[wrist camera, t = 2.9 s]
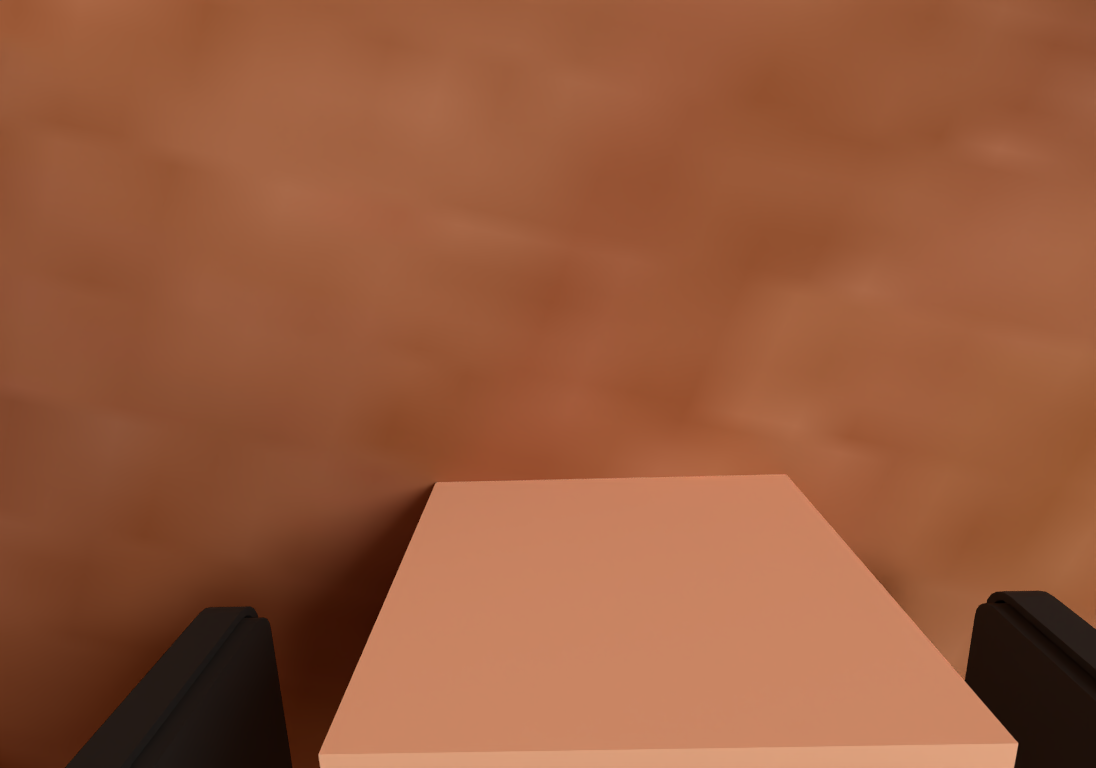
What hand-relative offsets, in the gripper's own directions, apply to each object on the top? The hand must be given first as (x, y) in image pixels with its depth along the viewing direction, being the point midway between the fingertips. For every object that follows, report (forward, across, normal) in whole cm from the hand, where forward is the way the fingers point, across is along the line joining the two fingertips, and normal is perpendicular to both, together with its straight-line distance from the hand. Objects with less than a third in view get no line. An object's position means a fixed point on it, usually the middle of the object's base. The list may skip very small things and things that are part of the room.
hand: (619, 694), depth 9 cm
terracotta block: (+2, 0, 0) cm, 2 cm away
